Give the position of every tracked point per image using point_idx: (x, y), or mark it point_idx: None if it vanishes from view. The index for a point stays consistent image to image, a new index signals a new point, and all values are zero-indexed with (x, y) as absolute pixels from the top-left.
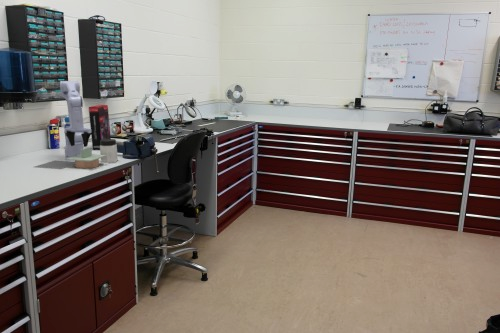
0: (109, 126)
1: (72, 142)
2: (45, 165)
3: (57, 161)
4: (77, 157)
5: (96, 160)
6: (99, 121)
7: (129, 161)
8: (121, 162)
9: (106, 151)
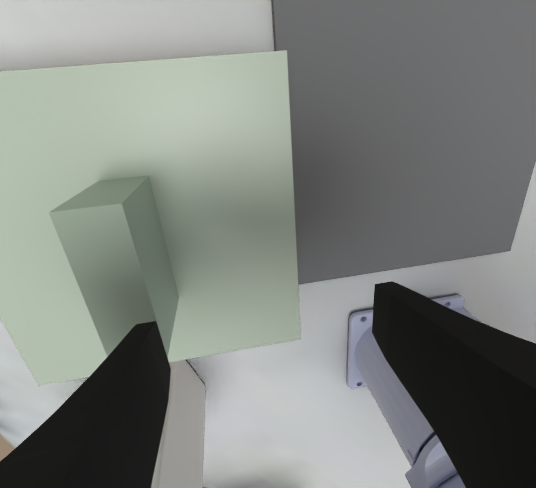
0: None
1: (405, 335)
2: (505, 72)
3: (479, 231)
4: (214, 178)
5: None
6: None
7: (22, 441)
8: (43, 403)
9: None
